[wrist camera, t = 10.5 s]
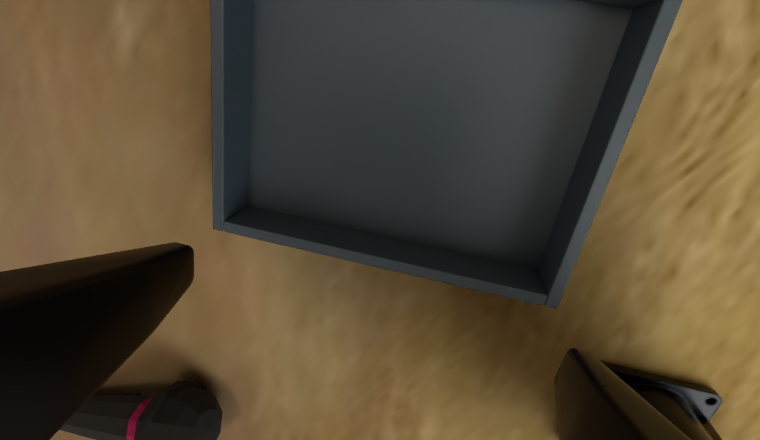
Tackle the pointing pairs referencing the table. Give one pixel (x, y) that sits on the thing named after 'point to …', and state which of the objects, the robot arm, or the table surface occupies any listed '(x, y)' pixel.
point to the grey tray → (428, 129)
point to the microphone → (150, 415)
